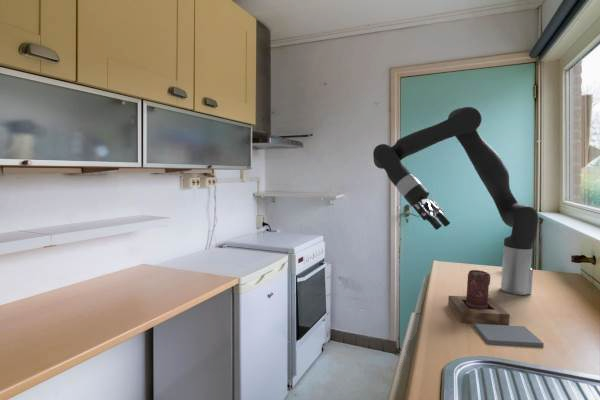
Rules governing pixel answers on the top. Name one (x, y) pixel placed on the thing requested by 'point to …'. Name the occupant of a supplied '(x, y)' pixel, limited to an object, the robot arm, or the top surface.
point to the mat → (508, 335)
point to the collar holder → (478, 312)
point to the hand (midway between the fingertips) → (443, 226)
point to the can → (477, 289)
